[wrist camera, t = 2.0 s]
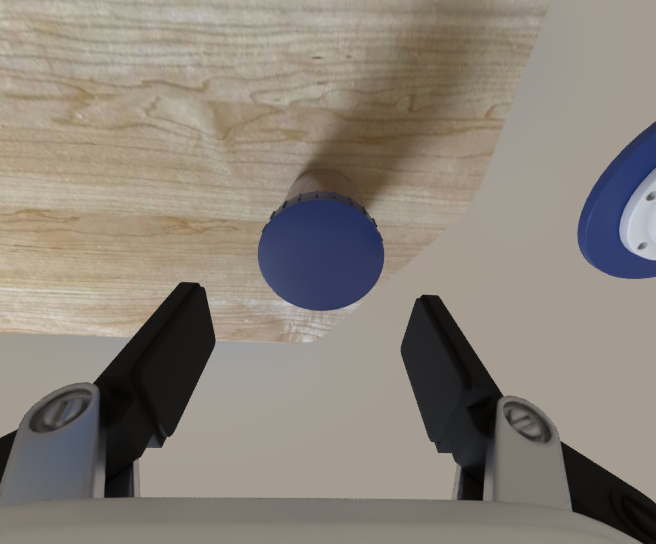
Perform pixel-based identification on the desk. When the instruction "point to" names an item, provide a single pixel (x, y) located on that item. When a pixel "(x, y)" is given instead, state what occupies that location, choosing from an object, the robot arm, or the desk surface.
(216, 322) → the desk surface
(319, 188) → the jar
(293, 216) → the lid
